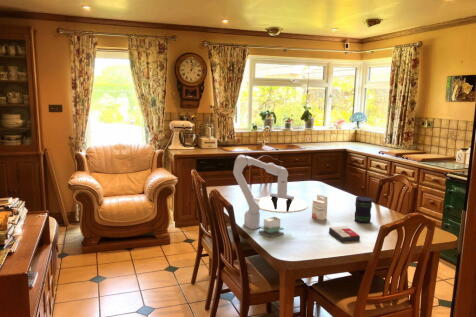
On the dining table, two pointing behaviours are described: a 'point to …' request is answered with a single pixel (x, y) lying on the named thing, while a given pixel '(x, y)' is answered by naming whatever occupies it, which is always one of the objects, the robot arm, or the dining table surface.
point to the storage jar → (363, 210)
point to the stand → (271, 232)
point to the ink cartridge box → (319, 208)
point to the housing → (271, 223)
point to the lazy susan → (281, 205)
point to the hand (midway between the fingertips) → (281, 210)
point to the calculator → (344, 234)
